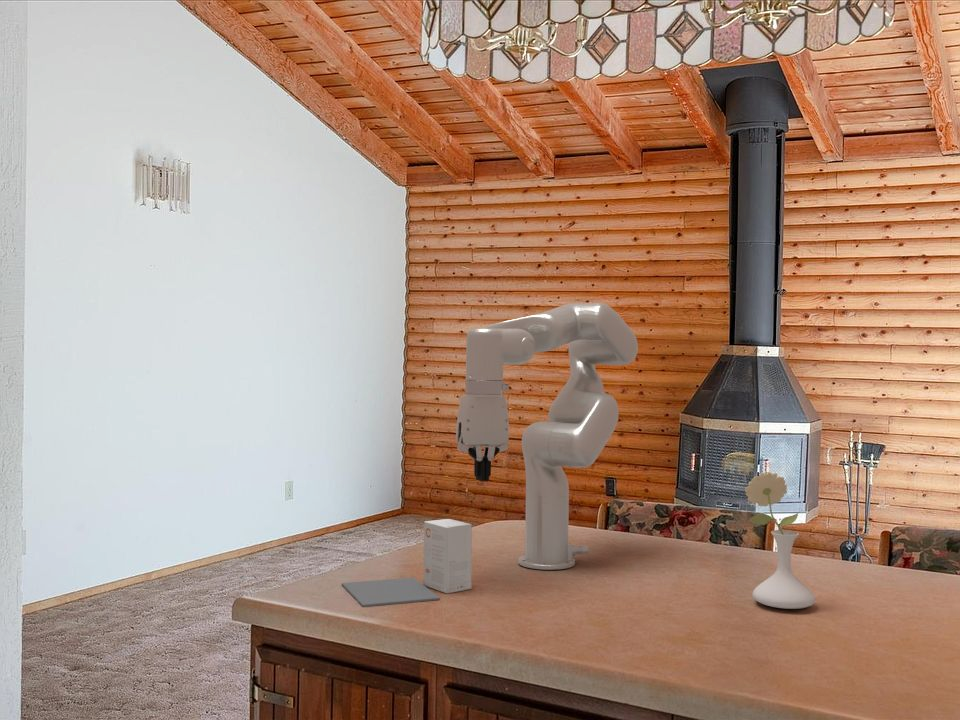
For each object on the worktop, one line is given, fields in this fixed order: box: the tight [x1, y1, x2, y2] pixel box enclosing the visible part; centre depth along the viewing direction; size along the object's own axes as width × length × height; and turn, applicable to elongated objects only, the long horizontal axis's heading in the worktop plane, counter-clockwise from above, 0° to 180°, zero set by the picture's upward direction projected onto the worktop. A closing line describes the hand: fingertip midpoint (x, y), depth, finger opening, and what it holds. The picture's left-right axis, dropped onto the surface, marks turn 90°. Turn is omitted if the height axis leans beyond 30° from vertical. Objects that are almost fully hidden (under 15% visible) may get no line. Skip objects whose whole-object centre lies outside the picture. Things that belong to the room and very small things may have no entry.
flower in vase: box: [744, 471, 817, 610], centre depth 178 cm, size 13×11×25 cm
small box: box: [423, 518, 473, 594], centre depth 189 cm, size 8×6×13 cm
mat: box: [341, 576, 441, 608], centre depth 185 cm, size 15×17×1 cm
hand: (482, 480), depth 191 cm, fingers closed
